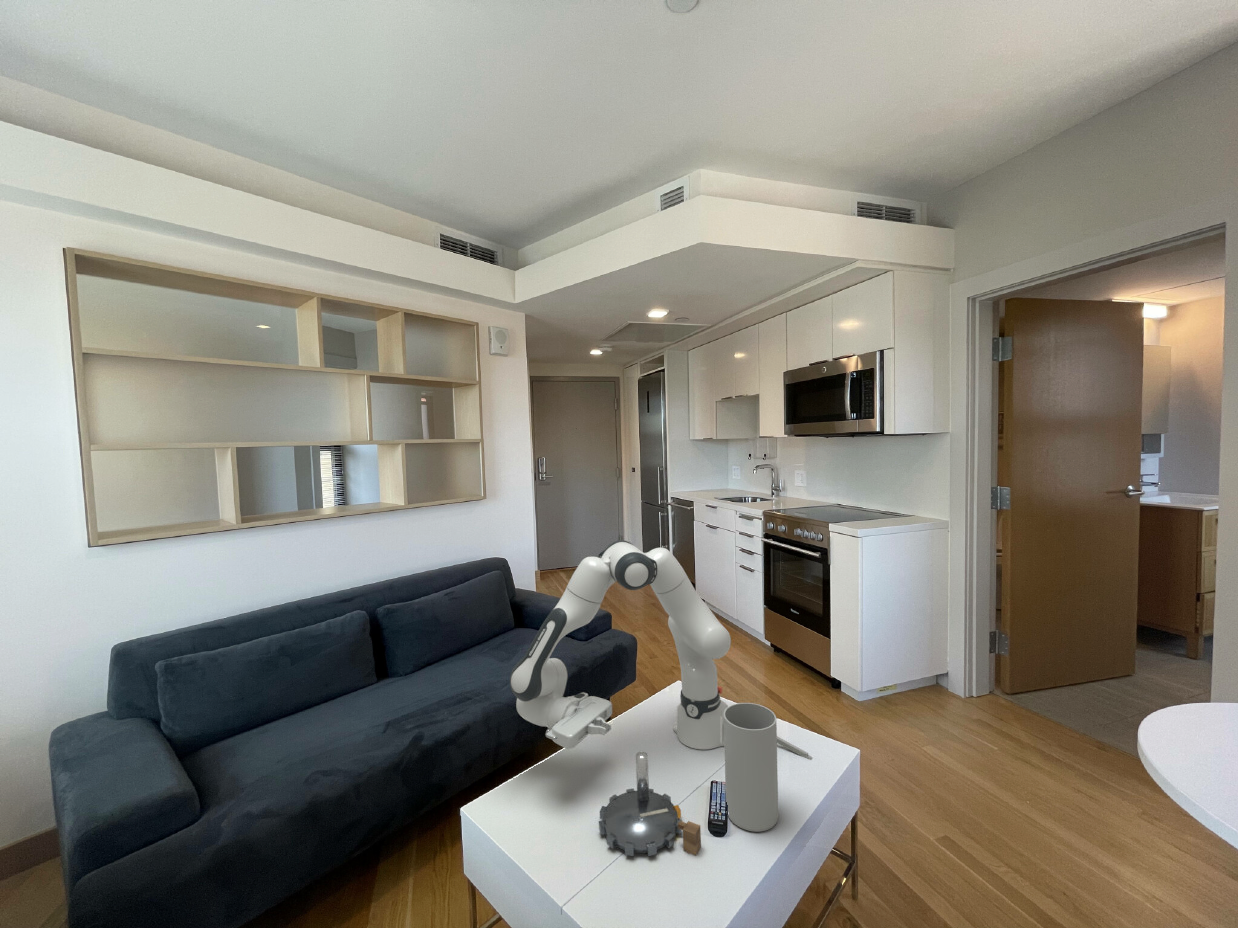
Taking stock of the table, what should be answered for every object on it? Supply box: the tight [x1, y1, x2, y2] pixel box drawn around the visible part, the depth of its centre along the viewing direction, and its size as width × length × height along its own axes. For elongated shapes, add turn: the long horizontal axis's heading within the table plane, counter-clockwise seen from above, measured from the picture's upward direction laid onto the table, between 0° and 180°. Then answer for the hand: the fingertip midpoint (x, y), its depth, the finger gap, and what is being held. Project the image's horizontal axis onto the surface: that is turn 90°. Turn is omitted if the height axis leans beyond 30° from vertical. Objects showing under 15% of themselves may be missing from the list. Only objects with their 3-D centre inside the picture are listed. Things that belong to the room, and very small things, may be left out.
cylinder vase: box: [723, 702, 779, 833], centre depth 127 cm, size 12×12×25 cm
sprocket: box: [598, 751, 683, 857], centre depth 125 cm, size 20×20×13 cm
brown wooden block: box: [678, 820, 702, 856], centre depth 118 cm, size 3×5×5 cm, turn 58°
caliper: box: [777, 736, 813, 761], centre depth 155 cm, size 20×1×6 cm, turn 50°
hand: (608, 729), depth 136 cm, fingers closed
